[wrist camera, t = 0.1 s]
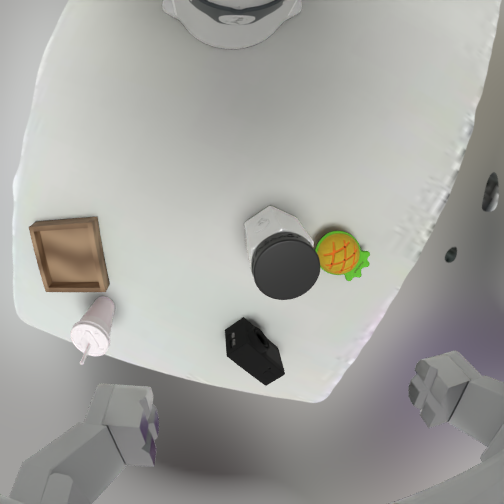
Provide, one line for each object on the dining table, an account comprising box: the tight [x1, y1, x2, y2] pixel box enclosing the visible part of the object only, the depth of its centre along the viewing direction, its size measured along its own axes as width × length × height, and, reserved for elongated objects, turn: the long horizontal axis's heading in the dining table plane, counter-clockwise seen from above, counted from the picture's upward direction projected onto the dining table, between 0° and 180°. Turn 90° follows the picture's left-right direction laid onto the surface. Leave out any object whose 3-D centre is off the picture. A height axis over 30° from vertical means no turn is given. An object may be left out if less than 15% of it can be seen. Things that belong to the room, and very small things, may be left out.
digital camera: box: [225, 317, 285, 385], centre depth 54 cm, size 10×5×7 cm, turn 39°
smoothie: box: [71, 296, 115, 365], centre depth 45 cm, size 6×6×14 cm
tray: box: [29, 217, 110, 292], centre depth 45 cm, size 12×12×2 cm
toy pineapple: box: [315, 231, 370, 281], centre depth 49 cm, size 7×10×5 cm
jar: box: [244, 206, 320, 300], centre depth 43 cm, size 9×8×12 cm
